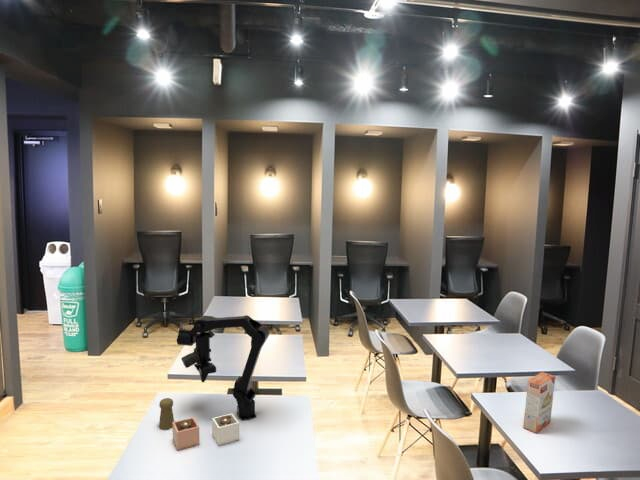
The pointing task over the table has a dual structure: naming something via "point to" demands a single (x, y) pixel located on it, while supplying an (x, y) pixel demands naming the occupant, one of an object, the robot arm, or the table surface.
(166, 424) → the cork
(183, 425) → the brown and grey plunger
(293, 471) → the table surface
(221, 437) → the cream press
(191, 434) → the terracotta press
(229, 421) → the round copper knob
